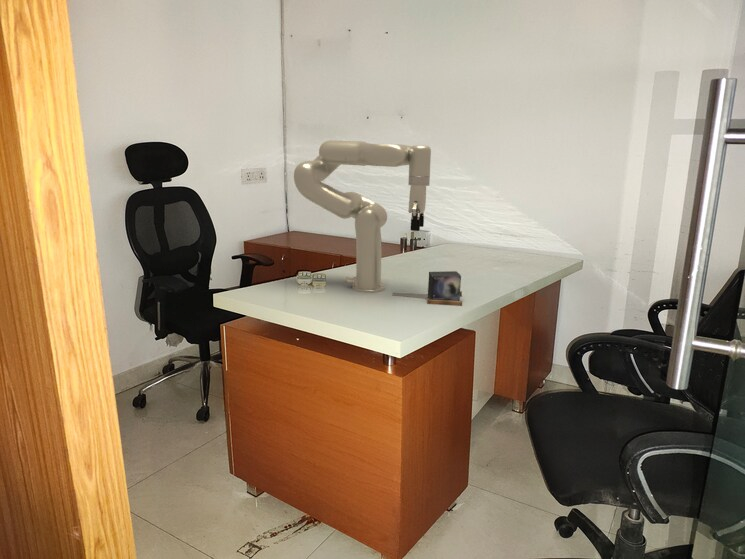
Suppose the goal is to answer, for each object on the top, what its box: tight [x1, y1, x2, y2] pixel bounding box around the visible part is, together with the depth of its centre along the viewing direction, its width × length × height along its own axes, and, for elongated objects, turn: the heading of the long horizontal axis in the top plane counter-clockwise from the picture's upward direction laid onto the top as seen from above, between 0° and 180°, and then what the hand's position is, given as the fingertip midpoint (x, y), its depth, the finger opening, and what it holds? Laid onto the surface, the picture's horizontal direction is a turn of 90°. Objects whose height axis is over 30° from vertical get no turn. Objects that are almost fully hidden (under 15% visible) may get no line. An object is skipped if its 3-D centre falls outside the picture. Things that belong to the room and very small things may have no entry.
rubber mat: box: [391, 292, 428, 300], centre depth 189 cm, size 13×11×1 cm
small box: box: [427, 270, 462, 301], centre depth 185 cm, size 11×6×10 cm, turn 97°
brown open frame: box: [426, 290, 463, 307], centre depth 187 cm, size 12×14×2 cm
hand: (417, 228), depth 190 cm, fingers open, 9 cm apart
